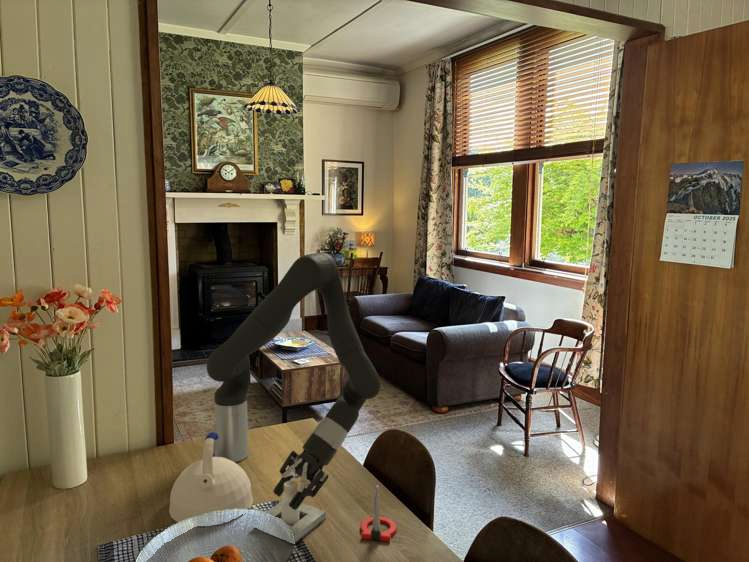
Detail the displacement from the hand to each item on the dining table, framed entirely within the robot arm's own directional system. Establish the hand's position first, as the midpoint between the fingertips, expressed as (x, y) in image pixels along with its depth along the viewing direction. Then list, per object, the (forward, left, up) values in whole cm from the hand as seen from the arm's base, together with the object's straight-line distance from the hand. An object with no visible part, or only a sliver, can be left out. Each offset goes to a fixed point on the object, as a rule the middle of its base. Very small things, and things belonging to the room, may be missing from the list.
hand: (284, 500), depth 132 cm
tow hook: (+19, +11, -7) cm, 23 cm away
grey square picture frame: (+1, +2, -6) cm, 7 cm away
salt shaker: (0, +2, -6) cm, 6 cm away
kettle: (-21, -2, -7) cm, 23 cm away
